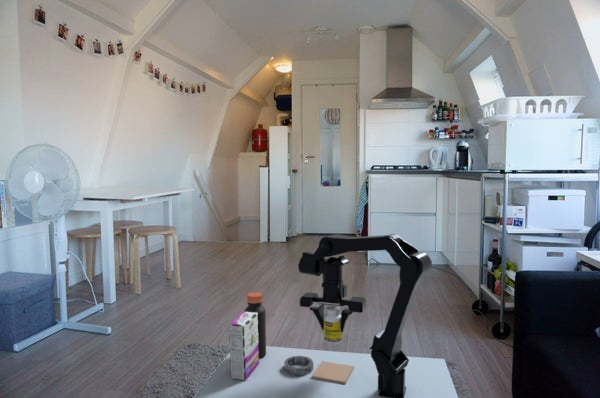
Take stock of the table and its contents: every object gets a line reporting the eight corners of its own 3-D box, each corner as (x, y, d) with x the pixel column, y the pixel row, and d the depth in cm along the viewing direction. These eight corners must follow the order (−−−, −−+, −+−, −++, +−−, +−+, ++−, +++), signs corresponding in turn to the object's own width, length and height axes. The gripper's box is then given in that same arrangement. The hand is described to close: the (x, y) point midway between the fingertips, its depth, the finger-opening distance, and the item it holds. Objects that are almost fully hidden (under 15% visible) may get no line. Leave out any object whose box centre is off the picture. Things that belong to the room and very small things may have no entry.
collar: (316, 364, 129) (316, 358, 129) (307, 377, 121) (307, 370, 121) (290, 360, 132) (290, 354, 132) (280, 372, 124) (280, 366, 124)
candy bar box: (244, 362, 131) (243, 310, 130) (259, 364, 130) (258, 312, 129) (229, 379, 120) (228, 323, 119) (245, 381, 119) (244, 325, 118)
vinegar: (269, 352, 138) (268, 292, 136) (260, 361, 132) (259, 298, 130) (251, 349, 140) (250, 290, 139) (241, 357, 134) (240, 296, 133)
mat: (353, 368, 127) (353, 366, 126) (345, 384, 117) (345, 381, 117) (322, 362, 130) (322, 361, 130) (311, 377, 121) (311, 375, 121)
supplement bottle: (322, 344, 121) (322, 310, 120) (325, 336, 126) (324, 304, 125) (341, 345, 120) (341, 311, 119) (343, 337, 125) (342, 305, 124)
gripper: (369, 274, 126) (370, 324, 127) (311, 269, 132) (311, 318, 133) (361, 283, 115) (362, 338, 116) (298, 278, 122) (299, 330, 123)
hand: (333, 330), depth 123 cm, fingers closed on supplement bottle, 5 cm apart
